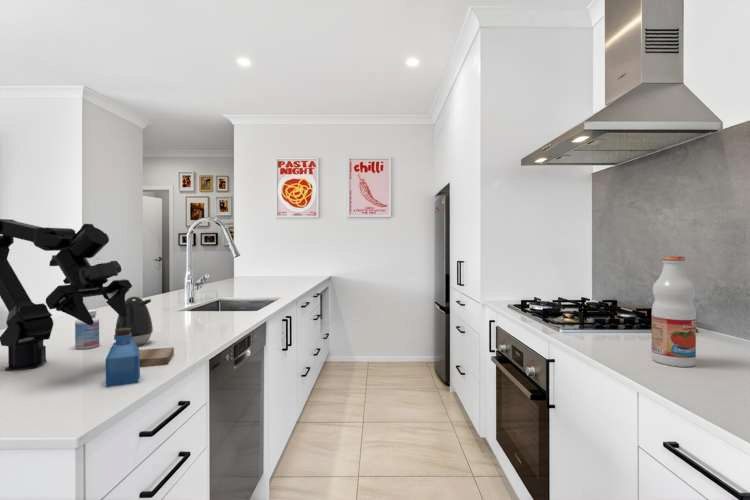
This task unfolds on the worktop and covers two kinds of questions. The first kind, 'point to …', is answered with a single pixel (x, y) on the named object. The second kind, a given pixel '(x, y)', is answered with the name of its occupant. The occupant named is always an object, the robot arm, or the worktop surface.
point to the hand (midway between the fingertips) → (109, 320)
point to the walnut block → (156, 356)
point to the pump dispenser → (137, 320)
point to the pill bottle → (87, 333)
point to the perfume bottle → (123, 360)
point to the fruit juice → (674, 316)
